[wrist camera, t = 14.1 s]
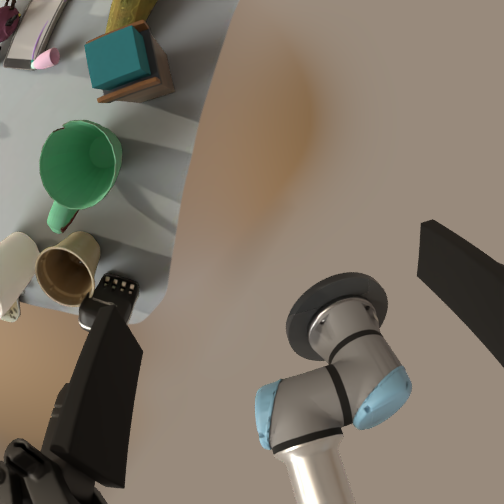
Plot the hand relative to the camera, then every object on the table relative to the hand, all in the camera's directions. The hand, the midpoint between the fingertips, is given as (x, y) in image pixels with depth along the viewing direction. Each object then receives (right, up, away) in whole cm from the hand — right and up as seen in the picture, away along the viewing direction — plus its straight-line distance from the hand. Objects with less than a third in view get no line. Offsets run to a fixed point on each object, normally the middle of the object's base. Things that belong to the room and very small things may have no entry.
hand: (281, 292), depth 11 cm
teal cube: (-12, +18, +8) cm, 23 cm away
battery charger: (-22, -3, +32) cm, 39 cm away
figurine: (-42, +30, +10) cm, 52 cm away
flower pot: (-27, +2, +28) cm, 39 cm away
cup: (-39, +2, +26) cm, 47 cm away
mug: (-22, +13, +23) cm, 35 cm away
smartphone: (-32, +35, +10) cm, 48 cm away
